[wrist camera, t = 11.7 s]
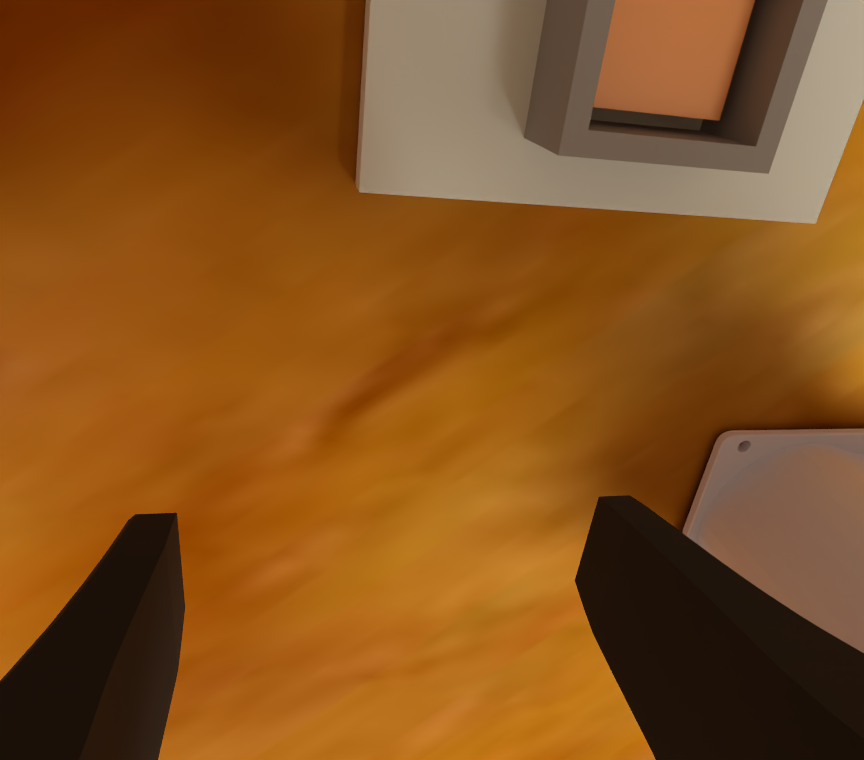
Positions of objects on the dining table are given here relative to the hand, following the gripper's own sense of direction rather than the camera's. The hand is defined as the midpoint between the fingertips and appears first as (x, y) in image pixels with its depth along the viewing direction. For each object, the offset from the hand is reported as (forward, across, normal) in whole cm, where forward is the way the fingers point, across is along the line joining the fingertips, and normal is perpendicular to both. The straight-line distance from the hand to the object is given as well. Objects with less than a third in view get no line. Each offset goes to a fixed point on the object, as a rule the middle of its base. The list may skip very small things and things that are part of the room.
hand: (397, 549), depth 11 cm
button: (+9, -7, -9) cm, 14 cm away
